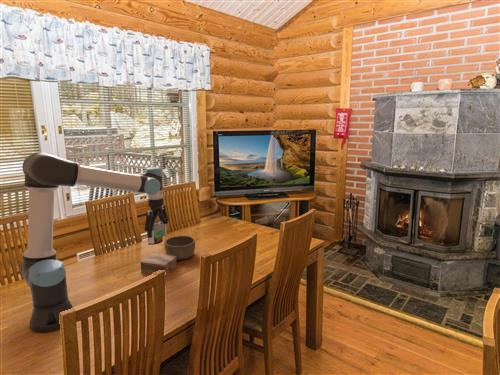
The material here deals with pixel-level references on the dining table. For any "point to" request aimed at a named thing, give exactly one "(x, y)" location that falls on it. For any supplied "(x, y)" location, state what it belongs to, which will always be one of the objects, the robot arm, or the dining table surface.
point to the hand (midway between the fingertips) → (157, 239)
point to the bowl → (180, 246)
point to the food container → (157, 232)
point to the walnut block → (158, 263)
